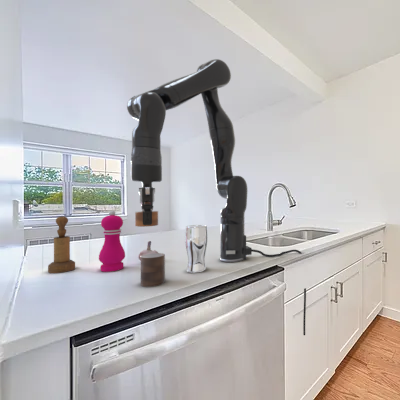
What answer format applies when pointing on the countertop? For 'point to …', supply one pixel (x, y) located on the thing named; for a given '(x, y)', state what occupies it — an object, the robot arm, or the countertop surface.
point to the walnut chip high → (152, 262)
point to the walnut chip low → (152, 278)
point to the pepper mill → (112, 244)
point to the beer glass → (196, 247)
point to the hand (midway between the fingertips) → (147, 223)
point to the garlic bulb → (147, 251)
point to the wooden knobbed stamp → (61, 250)
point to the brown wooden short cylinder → (140, 219)
